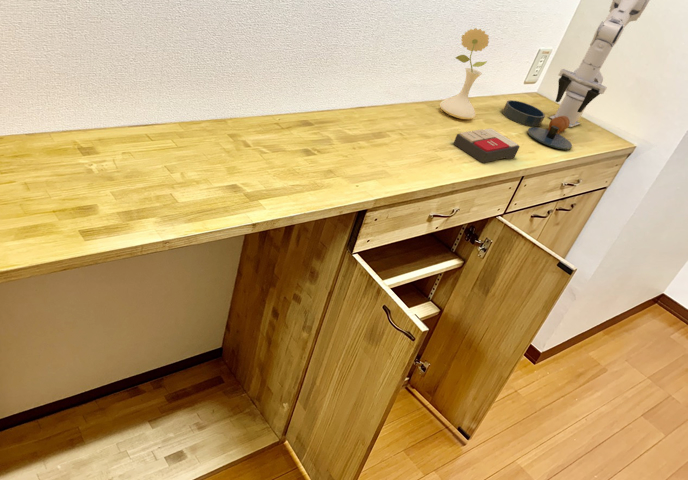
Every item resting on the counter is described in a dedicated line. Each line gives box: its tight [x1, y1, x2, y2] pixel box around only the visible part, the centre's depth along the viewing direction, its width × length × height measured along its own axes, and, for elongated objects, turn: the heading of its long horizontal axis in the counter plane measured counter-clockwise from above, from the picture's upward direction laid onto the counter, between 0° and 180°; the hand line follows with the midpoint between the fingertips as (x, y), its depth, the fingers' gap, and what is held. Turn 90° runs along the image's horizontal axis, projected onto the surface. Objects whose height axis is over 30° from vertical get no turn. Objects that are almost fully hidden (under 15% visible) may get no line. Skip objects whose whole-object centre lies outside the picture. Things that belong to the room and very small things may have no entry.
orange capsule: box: [547, 116, 570, 134], centre depth 187 cm, size 9×5×5 cm, turn 135°
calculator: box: [452, 128, 520, 164], centre depth 157 cm, size 11×4×15 cm
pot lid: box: [527, 126, 573, 150], centre depth 177 cm, size 14×14×4 cm
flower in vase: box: [439, 27, 490, 120], centre depth 171 cm, size 13×11×25 cm
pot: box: [501, 99, 546, 128], centre depth 190 cm, size 13×13×3 cm
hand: (568, 106), depth 180 cm, fingers open, 7 cm apart
